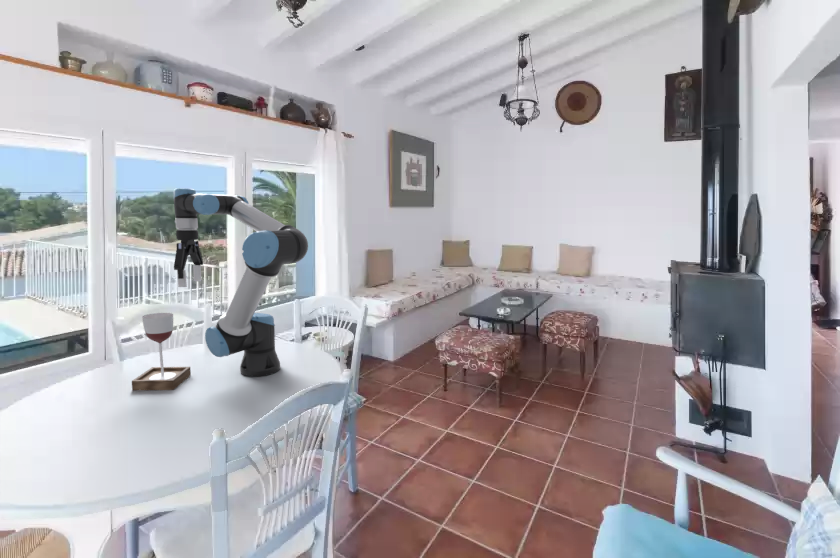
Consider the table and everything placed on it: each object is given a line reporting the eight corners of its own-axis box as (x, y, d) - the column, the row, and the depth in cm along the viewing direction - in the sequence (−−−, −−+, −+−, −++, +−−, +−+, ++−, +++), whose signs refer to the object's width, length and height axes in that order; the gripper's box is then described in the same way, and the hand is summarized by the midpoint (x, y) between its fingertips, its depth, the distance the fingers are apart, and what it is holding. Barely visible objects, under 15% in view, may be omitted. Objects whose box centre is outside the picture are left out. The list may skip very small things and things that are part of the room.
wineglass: (165, 382, 156) (160, 319, 152) (141, 379, 158) (135, 317, 154) (183, 373, 165) (179, 313, 161) (160, 371, 166) (155, 312, 163)
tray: (190, 375, 169) (190, 366, 169) (173, 389, 156) (173, 380, 155) (152, 375, 168) (152, 367, 168) (132, 390, 154) (131, 381, 154)
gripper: (190, 228, 180) (194, 279, 183) (160, 230, 155) (164, 289, 158) (209, 228, 180) (212, 279, 184) (182, 231, 156) (186, 289, 159)
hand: (190, 284), depth 171 cm, fingers open, 13 cm apart
